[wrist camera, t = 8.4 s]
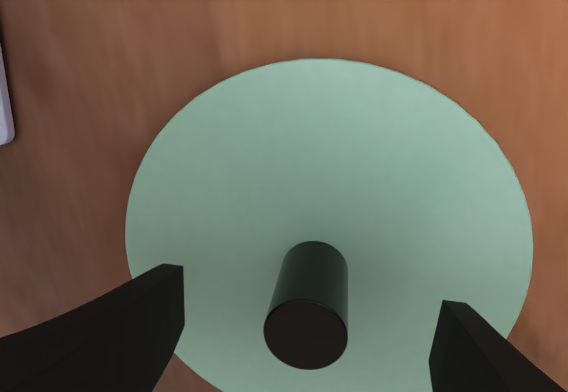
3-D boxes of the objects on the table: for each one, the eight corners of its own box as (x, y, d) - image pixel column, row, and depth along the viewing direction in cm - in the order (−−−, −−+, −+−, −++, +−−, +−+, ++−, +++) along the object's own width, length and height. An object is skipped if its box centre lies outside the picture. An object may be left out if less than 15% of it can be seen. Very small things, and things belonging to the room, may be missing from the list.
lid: (148, 372, 18) (87, 471, 14) (126, 42, 13) (25, 41, 9) (470, 425, 16) (512, 555, 12) (574, 74, 12) (699, 90, 8)
